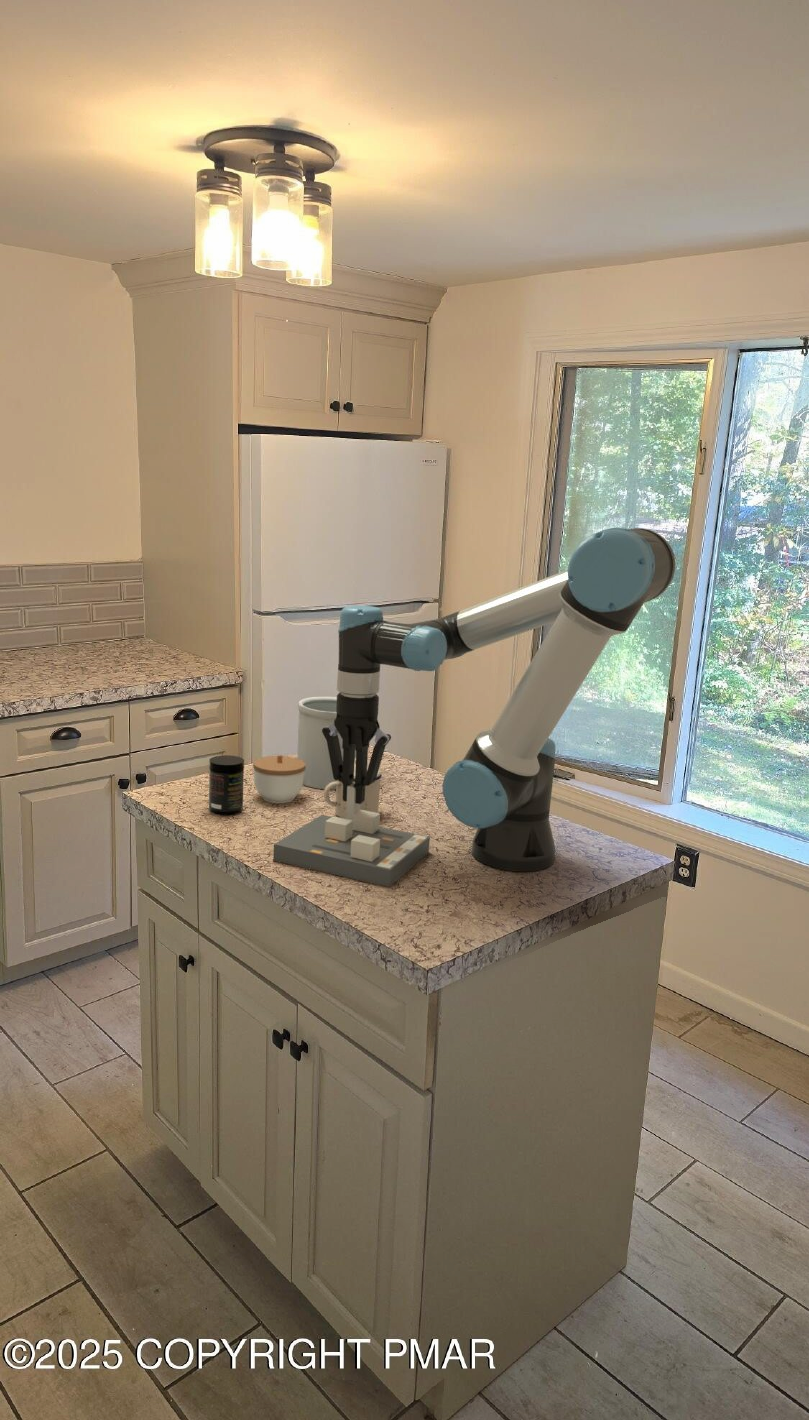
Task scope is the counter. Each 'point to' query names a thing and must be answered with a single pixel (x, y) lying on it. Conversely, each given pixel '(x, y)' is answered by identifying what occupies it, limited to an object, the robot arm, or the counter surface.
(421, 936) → the counter surface
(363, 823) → the back switch
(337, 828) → the middle switch
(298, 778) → the lidded jar
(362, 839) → the front switch
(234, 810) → the supplement container
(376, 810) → the teacup with lid
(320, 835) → the switch panel
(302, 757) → the utensil holder
